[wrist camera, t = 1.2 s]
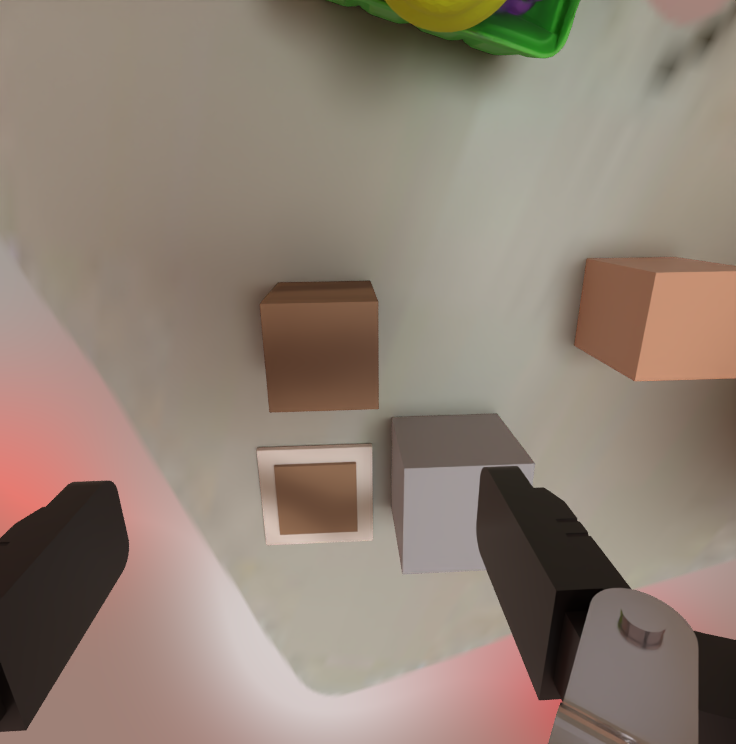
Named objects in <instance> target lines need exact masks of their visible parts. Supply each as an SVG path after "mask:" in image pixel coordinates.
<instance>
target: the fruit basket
mask: <svg viewBox="0 0 736 744" xmlns="http://www.w3.org/2000/svg"><path fill="white" fill-rule="evenodd" d="M327 1H330V2H333V3H336V4H339V5H342V6H347V7H350V6H360V7H361V8H362V9H364V10H365V11H367V12H368V13H369V14H371V15H374V16H376V17H380V18H383V19H386V20H389V21H392V22H395V23H399V24H403V23H411V24H413V25H414V26H416V27H417V28H418V29H419V30H420V31H422V32H425V33H428V34H431V35H434V36H437V37H440V38H443V39H446V40H461V39H462V40H463V41H464V42H465V43H467V44H468V45H469V46H470V47H472V48H474V49H477V50H480V51H483V52H486V53H489V54H492V55H516V54H519V55H522V56H525V57H532V58H549V57H552V56H554V55H555V54H557V53H558V52H559V51H560V50H561V49H562V47H563V46H564V45H565V43H566V41H567V38H568V36H569V33H570V30H571V27H572V24H573V20H574V17H575V13H576V10H577V8H578V5H579V2H580V0H327Z"/></svg>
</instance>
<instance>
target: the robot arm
mask: <svg viewBox="0 0 736 744" xmlns="http://www.w3.org/2000/svg"><path fill="white" fill-rule="evenodd" d="M476 535H477V543H478V548H479V552H480V555H481V558H482V560H483V563H484V565H485V568H486V570H487V573H488V575H489V578H490V580H491V582H492V585H493V587H494V590H495V592H496V595H497V597H498V600H499V602H500V605H501V607H502V610H503V612H504V615H505V617H506V620H507V622H508V625H509V627H510V630H511V632H512V635H513V637H514V640H515V642H516V645H517V647H518V649H519V652H520V654H521V657H522V659H523V662H524V664H525V667H526V669H527V672H528V674H529V677H530V679H531V682H532V684H533V687H534V689H535V691H536V694H537V697H538V699H539V700H552V699H561V700H562V702H563V703H560V706H559V708H558V711H557V714H556V718H555V722H554V725H553V728H552V732H551V736H550V739H549V743H548V744H736V640H733V639H728V638H723V637H718V636H714V635H709V634H705V633H701V632H697V631H693V630H692V628H691V626H690V625H689V624H688V623H687V621H686V620H685V619H684V618H683V617H682V616H681V615H680V614H679V613H678V612H676V611H675V610H674V609H673V608H672V607H670V606H669V605H667V604H665V603H664V602H662V601H661V600H658V599H657V598H655V597H653V596H651V595H648V594H646V593H643V592H640V591H637V590H632V589H631V588H630V587H629V585H628V584H627V583H626V581H625V580H624V579H623V577H622V576H621V575H620V574H619V572H618V571H617V570H616V568H615V567H614V566H613V564H612V563H611V562H610V561H609V559H608V558H607V557H606V555H605V554H604V553H603V551H602V550H601V549H600V547H599V546H598V545H597V544H596V542H595V541H594V540H593V538H592V537H591V536H588V532H587V530H586V529H585V528H584V527H583V525H582V524H581V523H580V522H578V521H577V517H576V516H575V515H574V514H573V512H572V511H571V510H570V508H569V507H568V506H567V504H566V503H565V502H564V501H563V500H561V499H560V498H559V497H557V496H556V495H554V494H553V493H551V492H550V491H548V490H547V489H545V488H533V486H532V485H531V484H530V482H529V481H528V479H527V478H526V476H525V475H524V473H523V472H522V471H521V469H520V468H519V467H518V466H497V467H483V468H482V470H481V474H480V483H479V496H478V508H477V521H476ZM128 552H129V540H128V535H127V531H126V526H125V522H124V517H123V513H122V509H121V504H120V499H119V495H118V491H117V488H116V486H115V484H114V483H113V482H112V481H86V482H72V483H70V484H68V485H67V486H66V487H65V488H64V489H63V490H62V491H61V492H60V493H59V494H58V495H57V496H56V497H55V498H54V499H53V500H52V501H51V502H50V503H49V504H48V505H47V506H46V507H42V508H40V509H39V510H37V511H35V512H34V513H32V514H30V515H29V516H27V517H26V518H24V519H22V520H21V521H19V522H17V523H16V524H15V525H13V527H11V528H10V529H9V530H8V531H7V532H6V533H5V534H4V535H3V536H2V537H1V538H0V732H5V731H21V730H27V728H28V726H29V725H30V723H31V721H32V720H33V718H34V716H35V715H36V713H37V712H38V710H39V708H40V707H41V705H42V703H43V702H44V700H45V698H46V697H47V695H48V693H49V691H50V690H51V689H52V687H53V685H54V684H55V682H56V680H57V679H58V677H59V675H60V674H61V672H62V670H63V669H64V667H65V665H66V664H67V662H68V661H69V659H70V657H71V656H72V654H73V652H74V651H75V649H76V648H77V646H78V644H79V643H80V641H81V639H82V638H83V636H84V634H85V633H86V631H87V629H88V628H89V626H90V625H91V623H92V621H93V619H94V618H95V616H96V615H97V613H98V611H99V610H100V608H101V606H102V605H103V603H104V602H105V600H106V598H107V597H108V595H109V593H110V592H111V590H112V588H113V587H114V585H115V583H116V582H117V580H118V578H119V577H120V575H121V574H122V572H123V570H124V568H125V565H126V562H127V559H128Z"/></svg>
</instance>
